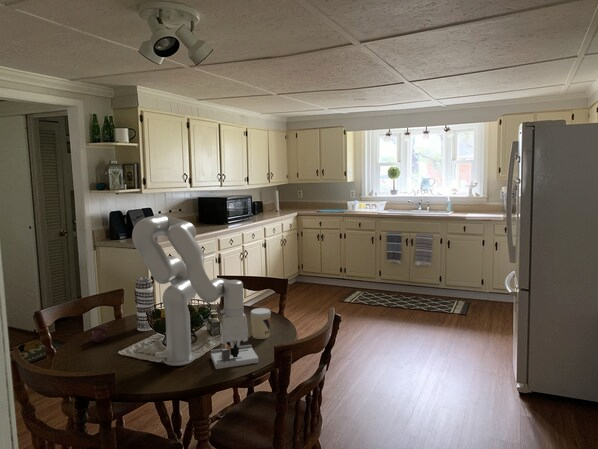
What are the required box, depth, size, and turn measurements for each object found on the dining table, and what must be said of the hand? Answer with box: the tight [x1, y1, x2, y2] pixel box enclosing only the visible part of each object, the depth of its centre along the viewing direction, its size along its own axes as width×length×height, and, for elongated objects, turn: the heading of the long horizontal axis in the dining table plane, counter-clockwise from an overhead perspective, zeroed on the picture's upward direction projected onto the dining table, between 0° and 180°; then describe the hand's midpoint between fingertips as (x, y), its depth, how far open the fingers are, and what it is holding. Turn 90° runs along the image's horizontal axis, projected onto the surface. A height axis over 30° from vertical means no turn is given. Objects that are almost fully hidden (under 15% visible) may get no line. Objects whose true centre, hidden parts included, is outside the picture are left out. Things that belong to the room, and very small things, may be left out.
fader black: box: [221, 347, 230, 361], centre depth 181 cm, size 2×3×4 cm
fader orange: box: [224, 344, 231, 354], centre depth 188 cm, size 2×3×4 cm
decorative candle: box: [133, 276, 155, 332], centre depth 222 cm, size 9×9×25 cm
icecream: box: [89, 324, 109, 343], centre depth 206 cm, size 7×7×15 cm
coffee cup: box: [250, 307, 272, 340], centre depth 212 cm, size 9×9×12 cm
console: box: [210, 344, 259, 370], centre depth 186 cm, size 17×12×3 cm
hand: (234, 356), depth 183 cm, fingers closed
